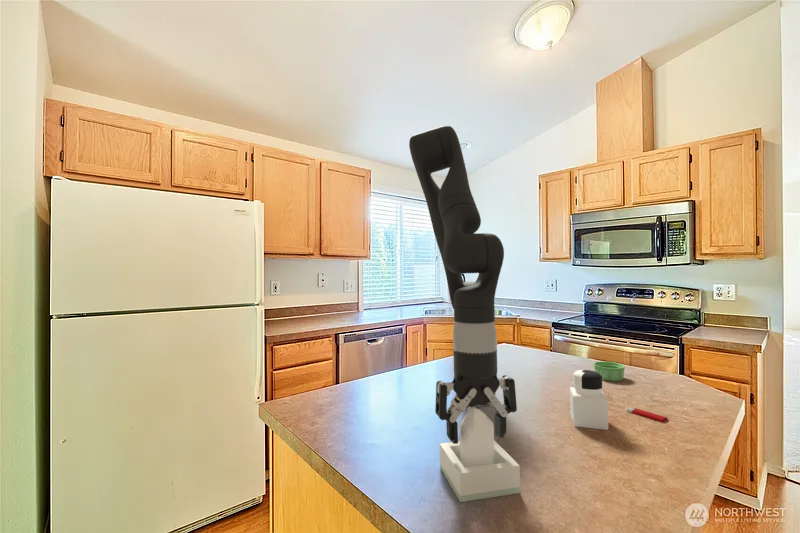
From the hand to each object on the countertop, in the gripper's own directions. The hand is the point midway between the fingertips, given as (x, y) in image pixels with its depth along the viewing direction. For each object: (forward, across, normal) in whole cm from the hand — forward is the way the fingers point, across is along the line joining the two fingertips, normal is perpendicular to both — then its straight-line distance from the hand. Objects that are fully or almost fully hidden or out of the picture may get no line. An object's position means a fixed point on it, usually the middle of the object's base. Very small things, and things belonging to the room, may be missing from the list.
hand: (476, 439), depth 65 cm
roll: (+6, 0, 0) cm, 6 cm away
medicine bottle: (+7, -35, -16) cm, 39 cm away
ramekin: (+8, -66, -45) cm, 80 cm away
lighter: (+8, -51, -16) cm, 54 cm away
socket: (+7, 0, 0) cm, 7 cm away
